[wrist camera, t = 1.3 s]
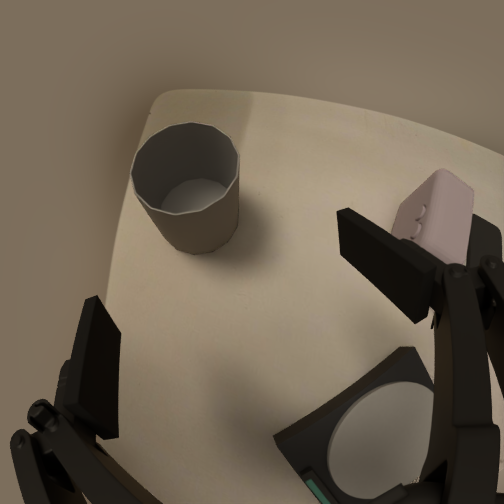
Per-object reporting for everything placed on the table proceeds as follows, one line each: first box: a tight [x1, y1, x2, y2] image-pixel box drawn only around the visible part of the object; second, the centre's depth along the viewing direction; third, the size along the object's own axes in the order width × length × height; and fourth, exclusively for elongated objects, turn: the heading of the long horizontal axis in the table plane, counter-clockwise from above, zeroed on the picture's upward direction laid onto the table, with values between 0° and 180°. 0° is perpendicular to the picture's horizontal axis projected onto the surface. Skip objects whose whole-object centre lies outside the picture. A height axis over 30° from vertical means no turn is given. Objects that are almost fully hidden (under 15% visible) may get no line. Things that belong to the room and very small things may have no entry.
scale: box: [273, 347, 434, 504], centre depth 23 cm, size 16×14×4 cm
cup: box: [130, 121, 240, 255], centre depth 26 cm, size 8×8×10 cm
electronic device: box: [391, 169, 474, 265], centre depth 26 cm, size 10×5×10 cm, turn 152°
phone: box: [467, 214, 502, 304], centre depth 30 cm, size 7×1×15 cm
